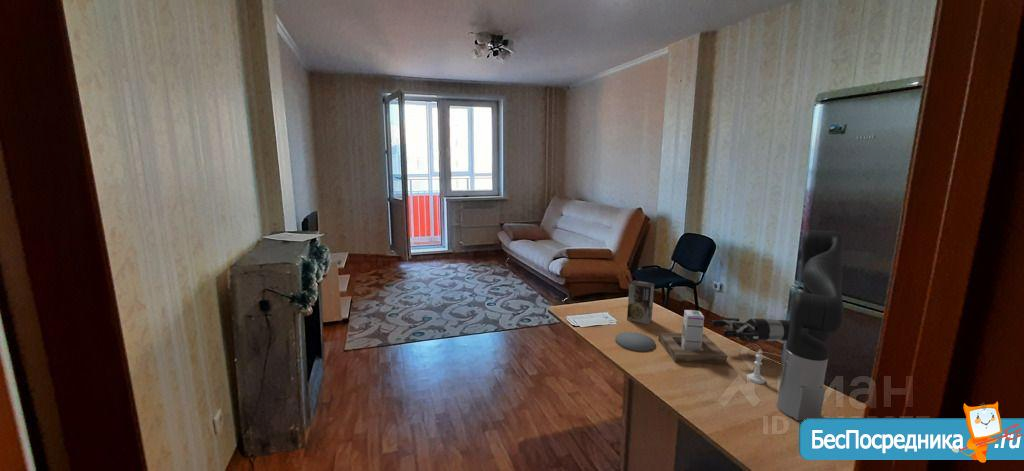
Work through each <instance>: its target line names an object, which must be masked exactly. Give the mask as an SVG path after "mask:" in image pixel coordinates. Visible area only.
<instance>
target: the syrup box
mask: <svg viewBox="0 0 1024 471" xmlns="http://www.w3.org/2000/svg"><path fill="white" fill-rule="evenodd" d="M683 313H684V314H683V321H682V332H681V333H682V341H681V345H680V347H681V348H682V350H702V349H701V347H702V337H703V334H704V323H705V316H704V315H703V313H702V312H701V311H700V310H694V309H693V310H692V309H684V312H683Z"/></svg>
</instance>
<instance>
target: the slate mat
mask: <svg viewBox="0 0 1024 471" xmlns="http://www.w3.org/2000/svg"><path fill="white" fill-rule="evenodd" d="M614 342H615V343H616V344H617V345H618V346H620V347H621V348H623V349H626V350H628V351H629V350H630V351H633V352H649V351H651V350H653V349H654V348H655V347H656V346H655V345H656V344H655V343H656V342H655V340H654V339H653V338H652V337H650V336H649V335H646V334H643V333H641V332H640V333H639V332H635V331H634V332H633V331H625V332H619V333H618V334H615V341H614Z"/></svg>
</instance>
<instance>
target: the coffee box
mask: <svg viewBox="0 0 1024 471" xmlns="http://www.w3.org/2000/svg"><path fill="white" fill-rule="evenodd" d="M654 293H655V283H653V282H647V281H641V280H632V281H631V282H630V283H629V285H628V298H627V300H628V301H627V302H628V303H627V315H626V320H627V321H631V322H635V323H640V324H644V325H649V324H650V322H651V321H652V320H653V319H652V318H653V310H654V307H653V305H654V296H655V294H654Z"/></svg>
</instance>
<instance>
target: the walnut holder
mask: <svg viewBox="0 0 1024 471" xmlns="http://www.w3.org/2000/svg"><path fill="white" fill-rule="evenodd" d="M681 341H682V332H681V333H678V332H677V333H676V332H658V342H659V343H660V345H661V346H662V347H663V349H665V351H666V352H667V354H669V356H670V357H671V358H672V361H674V363H678V364H679V363H680V364H682V363H683V364H709V365H710V364H711V365H712V364H714V365H715V364H716V365H718V364H719V365H726V364H727V360H728V355H727V354H726V353H725V352H724V351H723V350H722V349H721V348H720V347H719V346H718V345H717V344H716V343H715V342H713V340H711V338H709V336H707V335H706V334H705V333H703V337H702V347H701V350H682V348H681Z"/></svg>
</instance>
